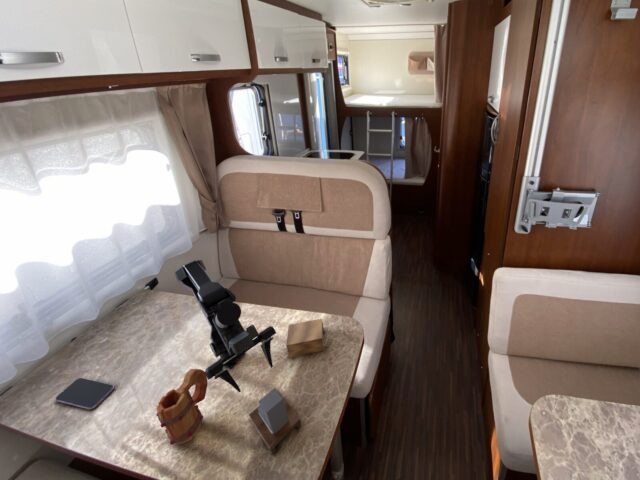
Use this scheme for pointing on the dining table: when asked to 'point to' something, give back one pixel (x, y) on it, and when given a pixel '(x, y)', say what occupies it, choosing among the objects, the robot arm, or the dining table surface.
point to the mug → (183, 408)
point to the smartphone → (85, 393)
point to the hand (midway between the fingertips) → (256, 379)
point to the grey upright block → (273, 411)
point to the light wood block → (305, 338)
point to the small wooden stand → (273, 439)
